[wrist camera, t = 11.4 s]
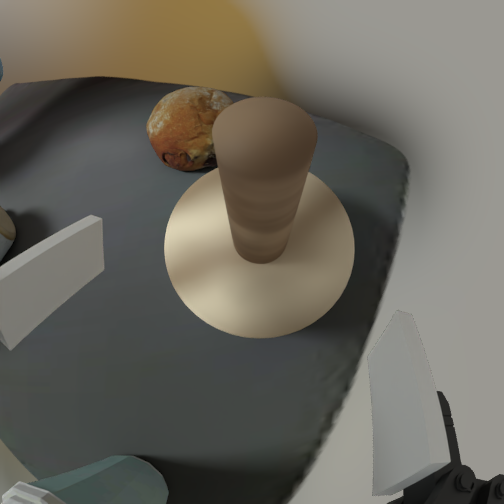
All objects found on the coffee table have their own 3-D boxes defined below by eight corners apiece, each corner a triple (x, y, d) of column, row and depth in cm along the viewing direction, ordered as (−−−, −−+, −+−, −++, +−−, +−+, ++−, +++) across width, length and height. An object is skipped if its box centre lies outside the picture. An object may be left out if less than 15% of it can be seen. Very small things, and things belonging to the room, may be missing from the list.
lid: (138, 226, 20) (59, 131, 9) (274, 140, 22) (283, 25, 12) (239, 377, 16) (215, 429, 6) (384, 259, 19) (480, 182, 8)
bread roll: (235, 130, 33) (226, 72, 28) (253, 166, 26) (242, 88, 21) (160, 148, 33) (144, 92, 27) (154, 189, 26) (129, 116, 20)
